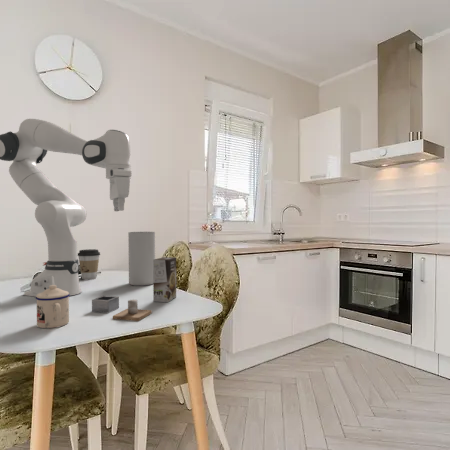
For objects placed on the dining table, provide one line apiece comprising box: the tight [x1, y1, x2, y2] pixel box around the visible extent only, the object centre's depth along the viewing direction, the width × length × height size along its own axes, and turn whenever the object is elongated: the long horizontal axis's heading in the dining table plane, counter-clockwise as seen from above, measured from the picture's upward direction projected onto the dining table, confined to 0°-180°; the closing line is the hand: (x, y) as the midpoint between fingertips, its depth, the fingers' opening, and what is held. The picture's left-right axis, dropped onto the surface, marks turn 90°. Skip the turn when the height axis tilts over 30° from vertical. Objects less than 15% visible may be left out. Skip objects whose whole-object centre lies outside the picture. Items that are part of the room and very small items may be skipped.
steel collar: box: [91, 295, 120, 314], centre depth 119 cm, size 6×6×4 cm
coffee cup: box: [77, 248, 101, 281], centre depth 182 cm, size 11×11×15 cm
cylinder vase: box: [127, 231, 156, 287], centre depth 167 cm, size 12×12×25 cm
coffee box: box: [152, 256, 177, 303], centre depth 135 cm, size 9×6×16 cm
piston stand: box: [112, 299, 153, 322], centre depth 112 cm, size 9×9×5 cm
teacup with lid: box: [35, 285, 71, 329], centre depth 102 cm, size 12×9×12 cm
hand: (118, 211), depth 129 cm, fingers open, 8 cm apart
